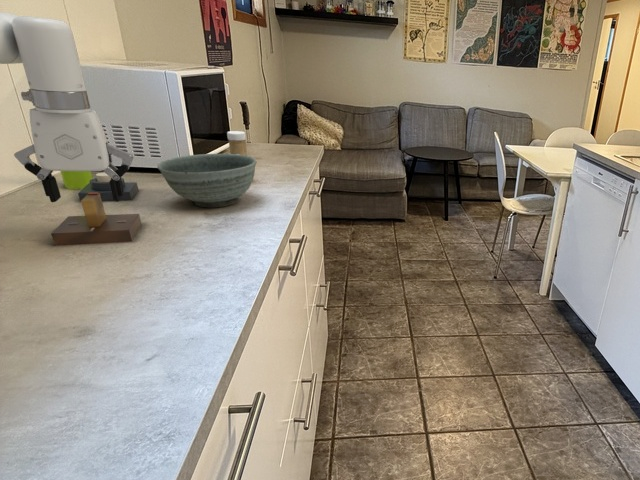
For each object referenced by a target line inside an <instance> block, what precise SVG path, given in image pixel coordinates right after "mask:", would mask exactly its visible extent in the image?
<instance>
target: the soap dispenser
mask: <svg viewBox="0 0 640 480" xmlns="http://www.w3.org/2000/svg"><path fill="white" fill-rule="evenodd" d="M60 175H61V177H62V180H63V183H64V187H65V188H66V189H68V190H82V189H83V188H84V187H85V186H86V185H87V184H89V183H90V182H89V181H90V180H91V179H94V178H93V174H92V171H60Z"/></svg>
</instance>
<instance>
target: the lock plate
mask: <svg viewBox="0 0 640 480" xmlns="http://www.w3.org/2000/svg"><path fill="white" fill-rule="evenodd" d="M142 224H143V223H142V219H141V216H140V213H125V214H124V213H121V214H119V213H118V214H106V220H105V221H104V222H103V223H102V225H101V226H100V227H88V223H87V220H86V217H85V215H68V216H67V217H65V219H64V220H63V221H62V222H61V223H60V224H59V225H57V227H56V228H55V229H53V231H51V232H50V235H51V239H52V241H53V245H54V246H55V247H58V246H59V247H60V246H76V245H77V246H78V245H94V244H95V245H97V244H98V245H99V244H112V243H115V244H117V243H131V242H133V241H134V240H135V238H136V236H137V234H138V232H139V231H140V229H141V227H142Z"/></svg>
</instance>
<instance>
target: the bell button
mask: <svg viewBox="0 0 640 480" xmlns="http://www.w3.org/2000/svg"><path fill="white" fill-rule="evenodd" d="M95 178H97V181H98V182H110V180H111V177H110V176H108V175H107V174H106V173H105V172H98V173H95Z"/></svg>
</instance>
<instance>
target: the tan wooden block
mask: <svg viewBox="0 0 640 480" xmlns="http://www.w3.org/2000/svg"><path fill="white" fill-rule="evenodd" d="M80 204H81V207H82V210H83V213H84V216H85V217H86V220H87V223H88V227H100V226H101V225H102V223H103V222H104V221H105V220H106V215H107V214H106V211H105V207H104V204H103V201H102V200H101V196H100V193H98V192H90V193H88V195H87V196H86V197H84V198H83V199H82V200H81V201H80Z"/></svg>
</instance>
